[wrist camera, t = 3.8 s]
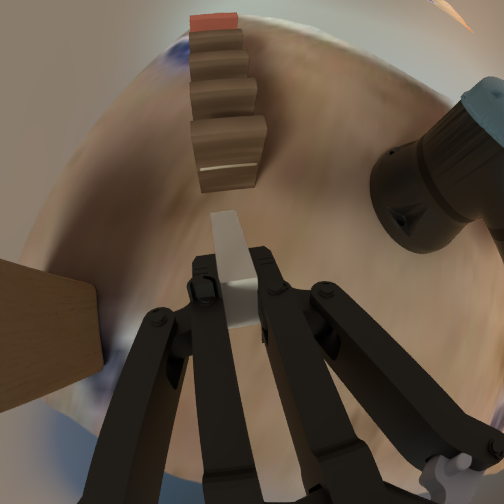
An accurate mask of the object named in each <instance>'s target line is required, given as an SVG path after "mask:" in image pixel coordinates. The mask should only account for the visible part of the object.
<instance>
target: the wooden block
mask: <svg viewBox="0 0 504 504" xmlns="http://www.w3.org/2000/svg"><path fill="white" fill-rule="evenodd" d="M103 366H104V361H103V354H102V347H101V339H100V331H99V321H98V310H97V295H96V289H95V287H94V285H92V284H90V283H87V282H83V281H79V280H75V279H71V278H67V277H63V276H59V275H55V274H51V273H47V272H44V271H40V270H36V269H33V268H29V267H26V266H22V265H19V264H16V263H12V262H9V261H6V260H3V259H0V413H2V412H4V411H7V410H9V409H12V408H15V407H17V406H20V405H22V404H25V403H28V402H30V401H32V400H35V399H37V398H40V397H42V396H45V395H47V394H50V393H52V392H54V391H57V390H59V389H61V388H64V387H66V386H68V385H71V384H73V383H75V382H77V381H80V380H82V379H84V378H86V377H89V376H91V375H93V374H95V373H98V372H100V371H102V370H103Z"/></svg>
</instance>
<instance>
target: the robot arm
mask: <svg viewBox="0 0 504 504" xmlns="http://www.w3.org/2000/svg"><path fill="white" fill-rule="evenodd" d="M370 194H371V199H372V203H373V207H374V209H375V212H376V214H377V216H378V218H379V220H380V222H381V224H382V226H383V227H384V229H385V230H386V231H387V233H388V234H389V235H390V236H391V237H392V238H393V239H394V240H395V241H396V242H397V243H398V244H399V245H401V246H402V247H404V248H405V249H407V250H409V251H411V252H414V253H419V254H427V253H431V252H434V251H437V250H439V249H442V248H443V247H445V246H446V245H448V244H449V243H450V242H451V240H452V239H453V238H454V237H455V236H456V235H457V234H458V233H459V232H460V231H461V230H462V229H463V228H464V227H465V226H466V225H467V224H468V223H470V222H472V221H474V220H476V219H479V218H483V220H484V222H485V224H486V225H487V227H488V229H489V231H490V233H491V236H492V238H493V240H494V242H495V244H496V246H497V249H498V251H499V253H500V256H501V258H502V260H503V263H504V80H502V79H499V78H497V77H486V78H483V79H482V80H481V81H480V82H479V83H477V84H476V85H475V86H474V87H473V88H472V89H471V90H469V91H467V92H464V93H463V95H462V96H461V100H460V101H459V102H458V103H457V104H456V105H455V106H454V107H453V108H452V109H451V110H450V111H449V112H448V113H447V114H446V115H445V116H444V117H443V118H442V119H440V120H439V121H438V122H437V123H436V124H435V125H434V126H433V127H432V128H431V129H430V130H429V131H428V132H427V133H426V134H425V135H424V136H423V137H421V138H420V139H419V140H417V141H414V142H411V143H408V144H405V145H402V146H400V147H396V148H394V149H391V150H390V151H388V152H387V153H385V154H384V155H383V156H382V157H381V158H380V160H379V161H378V162H377V163H376V164H375V166H374V168H373V170H372V173H371V177H370ZM210 215H211V223H212V231H213V239H214V247H215V254H209V255H202V256H196V258H195V259H194V261H193V262H192V275H193V276H192V278H191V279H190V281H189V282H188V283H187V290H188V294H189V298H190V303H189V304H188V305H187V306H185V307H184V308H182V309H180V310H177V311H175V312H173V311H172V310H170V309H169V308H165V307H160V308H155V309H153V310H151V311H149V312H148V313H147V314H146V316H145V317H144V319H143V321H142V323H141V326H140V328H139V330H138V333H137V335H136V337H135V340H134V342H133V345H132V347H131V349H130V352H129V354H128V357H127V359H126V362H125V364H124V367H123V369H122V372H121V375H120V377H119V380H118V383H117V385H116V388H115V391H114V393H113V396H112V399H111V402H110V405H109V407H108V410H107V413H106V416H105V419H104V422H103V425H102V428H101V431H100V434H99V438H98V441H97V444H96V447H95V451H94V454H93V458H92V461H91V465H90V469H89V472H88V476H87V480H86V484H85V488H84V492H83V496H82V498H81V499H80V501H79V502H78V503H77V504H158V501H159V496H160V490H161V484H162V479H163V474H164V469H165V464H166V458H167V453H168V449H169V444H170V439H171V434H172V429H173V425H174V420H175V416H176V411H177V407H178V402H179V398H180V393H181V389H182V385H183V381H184V376H185V372H186V368H187V364H188V360H189V356H191V355H193V369H194V383H195V395H196V406H197V417H198V426H199V435H200V444H201V452H202V459H203V466H204V474H203V478H202V485H203V493H204V499H205V504H469V503H470V501H471V499H472V497H473V495H474V493H475V491H476V489H477V487H478V485H479V483H480V481H481V478H482V476H483V474H484V471H485V470H486V469H487V468H489V467H491V466H493V465H495V464H497V463H499V462H500V461H501V460H502V459H503V458H504V434H503V433H502V432H501V431H499V430H497V429H495V428H493V427H491V426H489V425H487V424H485V423H483V422H481V421H479V420H477V419H475V418H473V417H471V416H469V415H467V414H465V413H464V411H463V410H462V409H461V408H460V407H459V406H458V405H457V404H456V403H455V402H454V401H453V399H452V398H451V397H450V396H449V395H448V394H447V393H446V392H445V391H444V390H443V389H442V388H441V387H440V386H439V385H438V384H437V383H436V381H435V380H434V379H433V378H432V377H431V376H430V375H429V374H428V373H427V372H426V371H425V370H424V369H423V368H422V367H421V366H420V365H419V364H418V363H417V362H416V361H415V360H414V359H413V358H412V357H411V356H410V355H409V354H408V353H407V352H406V351H405V350H404V349H403V348H402V347H401V346H400V345H399V344H398V343H397V342H396V341H395V340H394V339H393V338H392V337H391V336H390V335H389V334H388V333H387V332H386V331H385V330H384V329H383V328H382V327H381V326H380V325H379V324H378V323H377V322H376V321H375V320H374V319H373V318H372V317H371V316H370V315H369V314H368V313H367V312H366V311H365V310H363V309H362V308H361V307H360V306H359V305H358V304H357V303H356V302H355V301H354V300H353V299H352V298H351V297H350V296H349V295H348V294H347V293H346V292H345V291H343V290H342V289H341V288H340V287H339V286H338V285H336V284H335V283H332V282H328V281H322V282H317V283H316V284H314V285H313V286H312V288H311V290H300V289H295V288H292V287H291V285H290V284H289V283H288V282H286V281H284V279H283V277H282V275H281V273H280V270H279V268H278V266H277V264H276V261H275V259H274V258H273V255H272V253H271V251H270V250H269V249H268V248H266V247H265V246H261V247H254V248H248V247H247V244H246V241H245V238H244V234H243V231H242V228H241V225H240V222H239V219H238V216H237V213H236V210H228V211H221V212H213V213H210ZM259 318H260V320H259ZM260 322H261V327H262V343H265V346H266V350H267V353H268V357H269V361H270V364H271V368H272V371H273V375H274V378H275V382H276V385H277V389H278V392H279V396H280V399H281V403H282V406H283V410H284V413H285V416H286V420H287V423H288V427H289V430H290V434H291V437H292V440H293V444H294V447H295V451H296V454H297V457H298V461H299V464H300V468H301V476H302V481H303V485H304V488H305V492H306V495H307V496H305V497H303V498H301V499H299V500H297V501H295V502H264V500H263V496H262V492H261V488H260V484H259V480H258V476H257V471H256V467H255V463H254V458H253V454H252V450H251V445H250V440H249V436H248V431H247V427H246V422H245V417H244V412H243V407H242V402H241V397H240V392H239V387H238V382H237V377H236V371H235V366H234V360H233V355H232V349H231V344H230V338H229V332H228V329H231V328H237V327H244V326H250V325H256V324H260ZM323 358H324V359H323ZM324 360H325V361H326V362H327V363H328V365H329V366H330V367H331V368H332V370H333V371H334V372H335V373H336V375H337V376H338V377H339V378H340V380H341V381H342V382H343V383H344V385H345V386H346V387H347V388H348V390H349V391H350V392H351V393H352V395H353V396H354V397H355V398H356V400H357V401H358V402H359V403H360V405H361V406H362V407H363V408H364V410H365V411H366V412H367V413H368V415H369V416H370V417H371V418H372V419H373V421H374V422H375V423H376V424H377V426H378V427H379V428H380V429H381V431H382V432H383V433H384V434H385V435H386V437H387V438H388V439H389V440H390V442H391V443H392V444H393V445H394V447H395V448H396V449H397V450H398V451H399V453H400V454H401V455H402V456H403V457H404V458H405V459H406V460H407V461H408V462H409V463H410V464H412V465H413V466H414V467H415V468H417V469H419V470H420V471H422V474H421V476H420V478H419V483H420V485H421V486H423V487H424V488H426V489H427V490H428V491H429V493H430V495H431V500H428V499H425V498H423V497H420V496H418V495H415V494H413V493H410V492H408V491H406V490H403V489H401V488H399V487H396V486H394V485H392V484H390V483H388V482H385V481H383V480H382V477H381V475H380V472H379V470H378V467H377V465H376V463H375V460H374V458H373V455H372V453H371V451H370V449H369V447H368V445H367V444H366V443H365V442H364V441H363V440H361V439H359V438H358V437H357V436H356V434H355V432H354V429H353V427H352V424H351V422H350V420H349V417H348V415H347V412H346V410H345V408H344V405H343V403H342V401H341V398H340V396H339V393H338V391H337V389H336V386H335V384H334V382H333V379H332V377H331V375H330V372H329V370H328V368H327V365H326V363H325V361H324Z"/></svg>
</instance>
